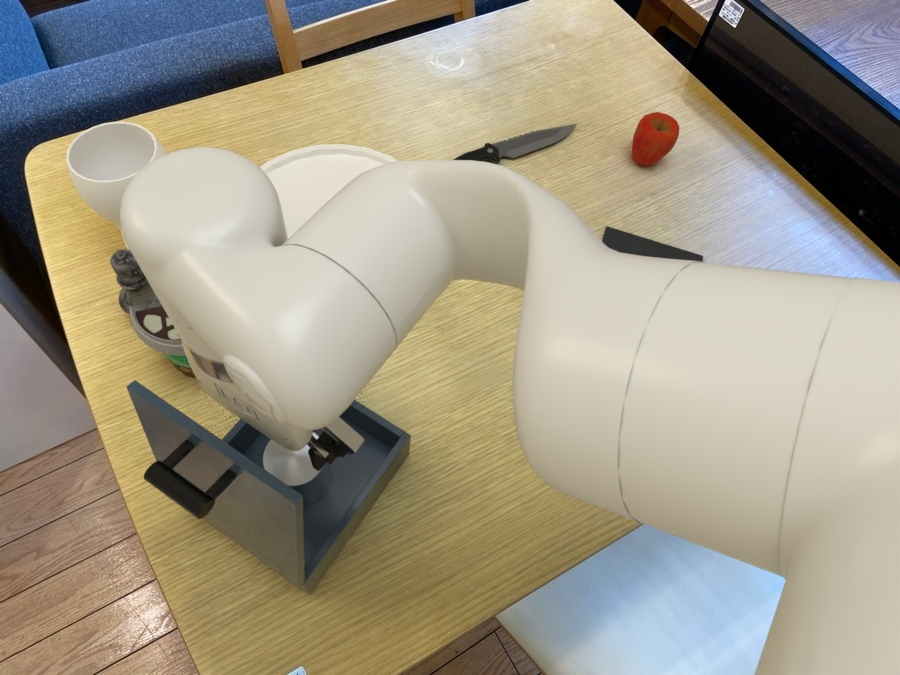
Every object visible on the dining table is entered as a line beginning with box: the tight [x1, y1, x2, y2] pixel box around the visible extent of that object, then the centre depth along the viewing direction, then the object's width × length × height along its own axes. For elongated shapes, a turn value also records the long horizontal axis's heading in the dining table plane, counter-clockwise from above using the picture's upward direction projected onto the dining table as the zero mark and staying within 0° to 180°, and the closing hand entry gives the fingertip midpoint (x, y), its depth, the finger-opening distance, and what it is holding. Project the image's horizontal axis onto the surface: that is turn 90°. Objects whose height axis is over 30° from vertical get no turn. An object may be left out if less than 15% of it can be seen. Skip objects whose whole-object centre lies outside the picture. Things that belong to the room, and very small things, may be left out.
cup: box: [65, 121, 168, 250], centre depth 76 cm, size 11×11×15 cm
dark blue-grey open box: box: [221, 399, 412, 596], centre depth 65 cm, size 18×16×6 cm
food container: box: [129, 306, 196, 379], centre depth 69 cm, size 12×6×10 cm, turn 106°
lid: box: [126, 379, 305, 589], centre depth 50 cm, size 18×16×5 cm
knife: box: [452, 123, 578, 165], centre depth 95 cm, size 26×1×5 cm
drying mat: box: [601, 225, 704, 262], centre depth 85 cm, size 14×14×1 cm
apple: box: [631, 111, 680, 167], centre depth 94 cm, size 6×6×8 cm
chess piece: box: [109, 248, 162, 316], centre depth 71 cm, size 6×6×12 cm
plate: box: [259, 143, 400, 239], centre depth 84 cm, size 28×28×2 cm
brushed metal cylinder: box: [263, 432, 332, 506], centre depth 64 cm, size 6×6×7 cm
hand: (282, 425), depth 55 cm, fingers open, 9 cm apart
